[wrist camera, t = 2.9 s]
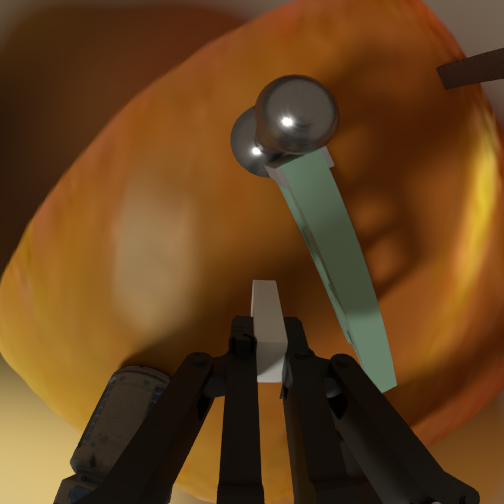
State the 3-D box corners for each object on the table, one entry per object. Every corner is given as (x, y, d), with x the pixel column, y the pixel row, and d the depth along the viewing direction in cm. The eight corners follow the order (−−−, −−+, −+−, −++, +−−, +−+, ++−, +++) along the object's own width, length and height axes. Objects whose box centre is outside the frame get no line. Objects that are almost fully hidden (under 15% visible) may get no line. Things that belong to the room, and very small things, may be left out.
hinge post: (318, 158, 21) (422, 164, 7) (252, 189, 22) (257, 242, 8) (285, 94, 19) (340, 4, 6) (218, 124, 20) (164, 68, 6)
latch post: (462, 89, 18) (551, 78, 6) (445, 93, 18) (540, 80, 6) (450, 62, 17) (535, 39, 5) (432, 65, 18) (521, 37, 5)
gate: (263, 164, 20) (274, 169, 12) (294, 150, 20) (325, 145, 11) (340, 333, 26) (369, 399, 17) (363, 321, 25) (400, 383, 17)
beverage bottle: (220, 388, 29) (202, 595, 6) (157, 422, 32) (122, 571, 8) (151, 336, 27) (64, 562, 3) (99, 381, 29) (31, 531, 6)
